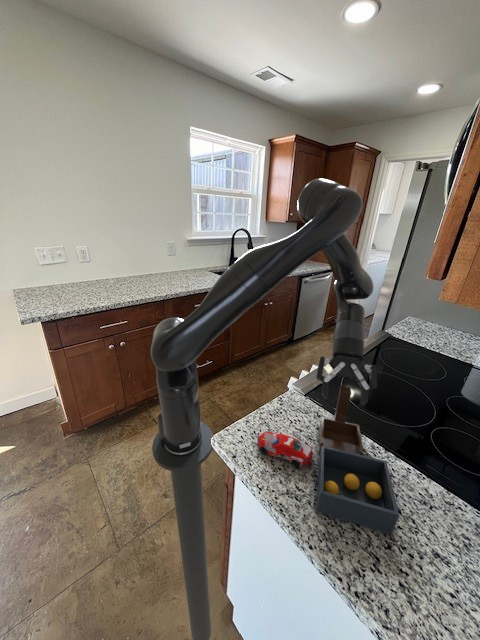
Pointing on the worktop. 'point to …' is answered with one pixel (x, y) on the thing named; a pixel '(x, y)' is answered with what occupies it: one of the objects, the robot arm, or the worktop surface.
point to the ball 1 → (331, 487)
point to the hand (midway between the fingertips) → (343, 402)
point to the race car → (285, 448)
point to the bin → (356, 502)
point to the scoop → (341, 428)
